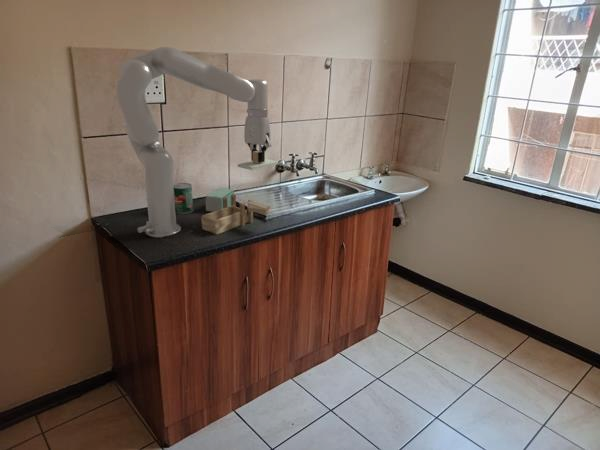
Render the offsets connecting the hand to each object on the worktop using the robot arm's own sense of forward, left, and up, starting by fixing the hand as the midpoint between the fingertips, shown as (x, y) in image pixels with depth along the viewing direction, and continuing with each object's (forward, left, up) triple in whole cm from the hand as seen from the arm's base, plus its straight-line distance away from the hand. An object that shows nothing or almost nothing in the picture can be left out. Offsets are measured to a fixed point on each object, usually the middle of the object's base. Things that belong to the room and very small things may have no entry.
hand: (258, 160), depth 176 cm
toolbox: (-18, +1, -23) cm, 29 cm away
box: (-4, +18, -24) cm, 30 cm away
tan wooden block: (-11, -10, -16) cm, 22 cm away
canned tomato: (-16, +28, -24) cm, 40 cm away
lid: (0, 0, -2) cm, 2 cm away
